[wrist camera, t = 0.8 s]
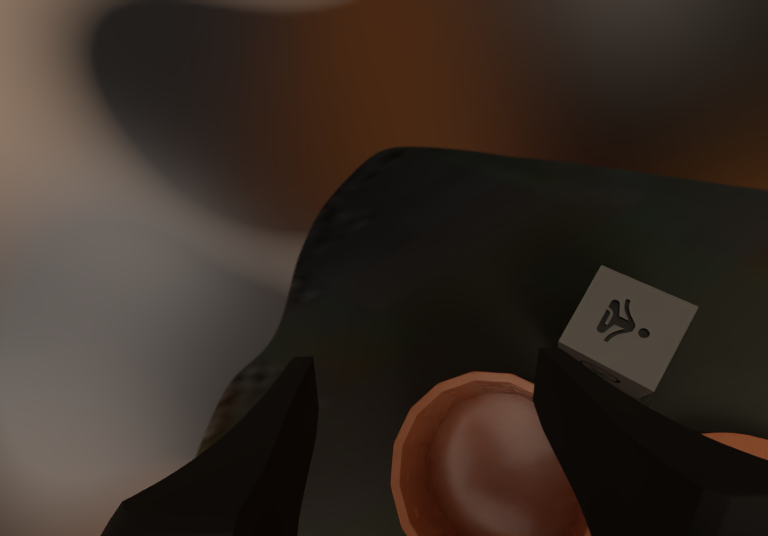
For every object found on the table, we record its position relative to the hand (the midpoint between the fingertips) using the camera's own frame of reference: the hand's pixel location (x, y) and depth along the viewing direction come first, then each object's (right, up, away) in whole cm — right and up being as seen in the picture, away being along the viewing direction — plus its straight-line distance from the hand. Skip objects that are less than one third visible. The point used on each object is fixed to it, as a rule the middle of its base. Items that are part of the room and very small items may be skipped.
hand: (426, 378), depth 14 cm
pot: (+6, -9, +14) cm, 17 cm away
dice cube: (+13, -1, +14) cm, 19 cm away
